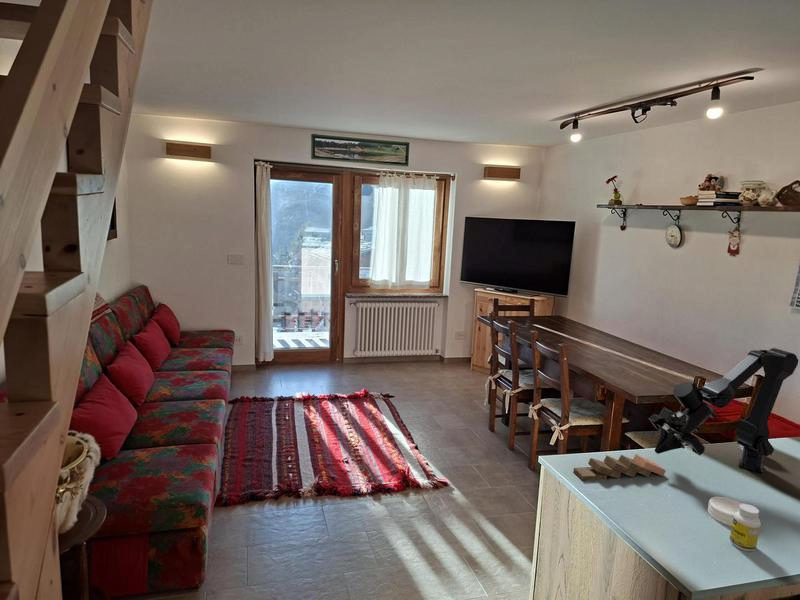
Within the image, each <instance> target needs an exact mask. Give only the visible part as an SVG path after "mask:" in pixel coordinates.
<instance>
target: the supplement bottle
mask: <svg viewBox="0 0 800 600" xmlns="http://www.w3.org/2000/svg"><path fill="white" fill-rule="evenodd" d="M759 515H760V510H759V509H758V508H757V507H755V506H753V505H751V504H748V503H743V504H740V506H739V512H736V513H735V514H734V518H733V524H732V527H731V530H730V535H729V542H730V543H731V545H733V546H734V547H736V548H738V549H739V550H741V551H745V552H755V551H756V550H757V545H758V541H759V534H760V531H761V524H762V523H761V520H760V518H759Z"/></svg>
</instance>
